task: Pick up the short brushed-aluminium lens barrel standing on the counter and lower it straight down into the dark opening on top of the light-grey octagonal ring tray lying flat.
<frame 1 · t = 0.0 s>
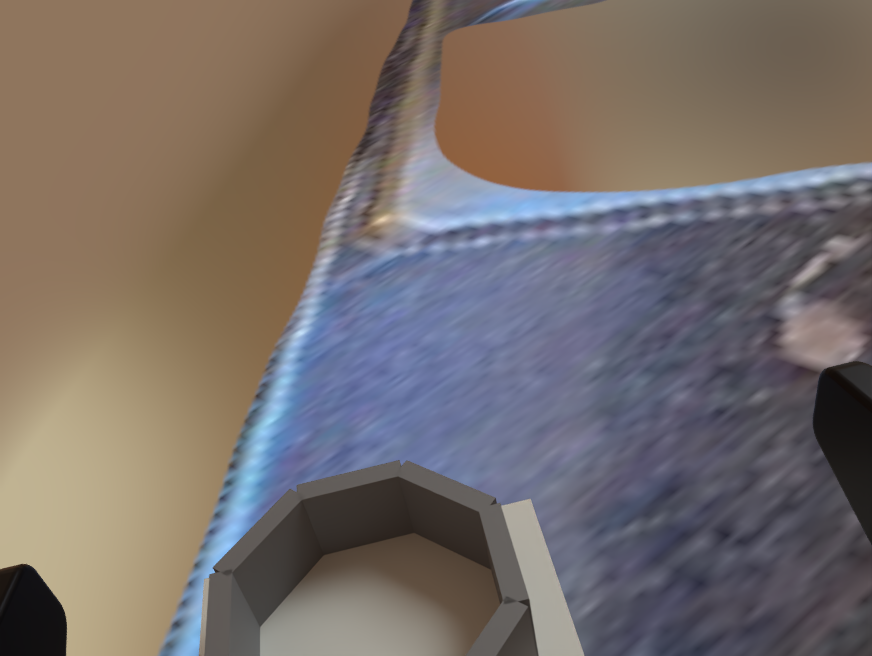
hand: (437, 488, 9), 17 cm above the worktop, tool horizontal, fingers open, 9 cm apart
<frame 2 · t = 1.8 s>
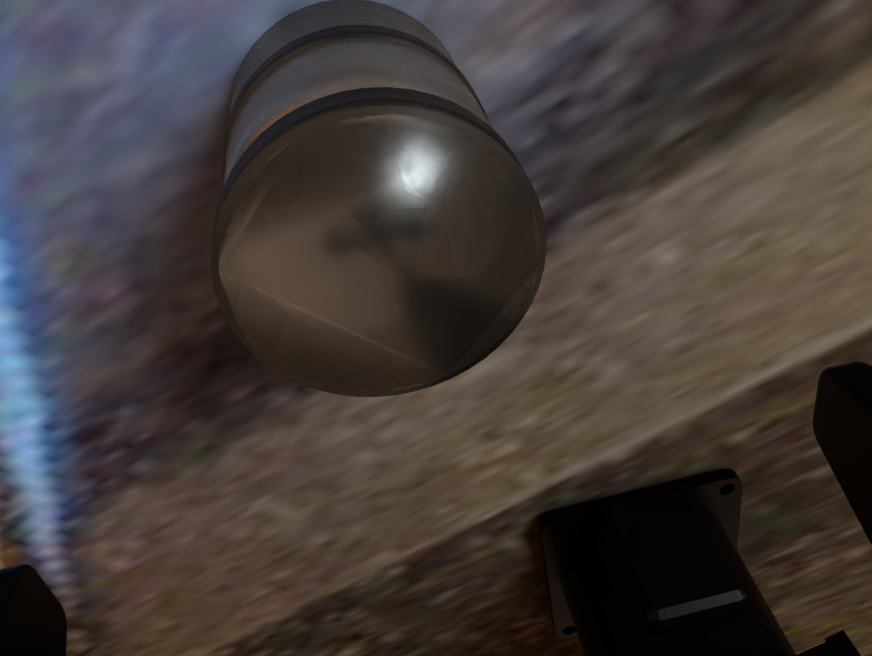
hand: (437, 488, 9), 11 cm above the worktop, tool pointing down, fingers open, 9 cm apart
lens: (350, 121, 18), on the worktop
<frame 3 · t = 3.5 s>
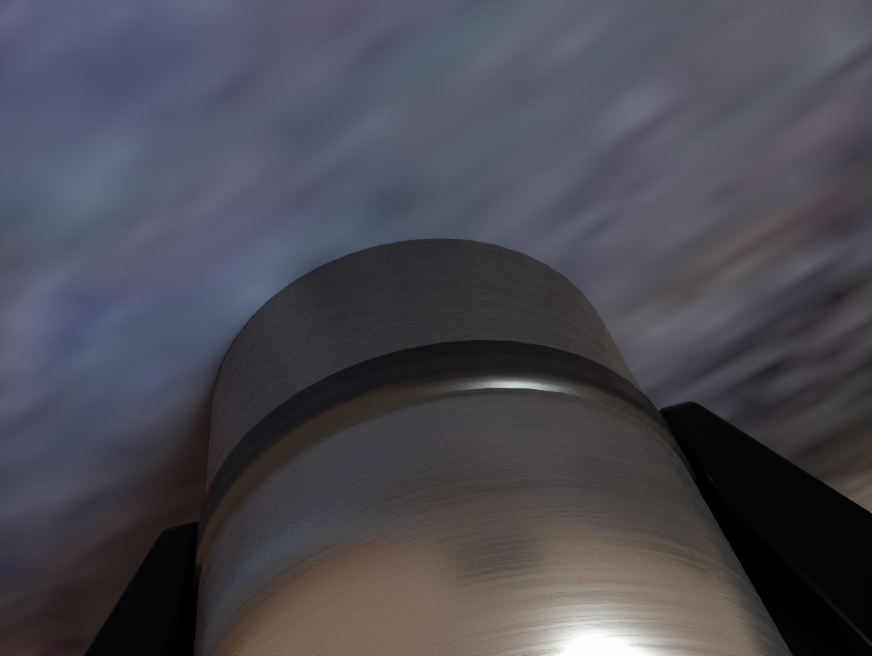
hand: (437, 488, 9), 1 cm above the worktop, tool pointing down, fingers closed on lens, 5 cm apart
lens: (420, 415, 10), on the worktop, touching gripper
when the fingers open (7 cm above the worktop, at t = 7.8 s): lens drops 2 cm, resting on octagonal ring tray.
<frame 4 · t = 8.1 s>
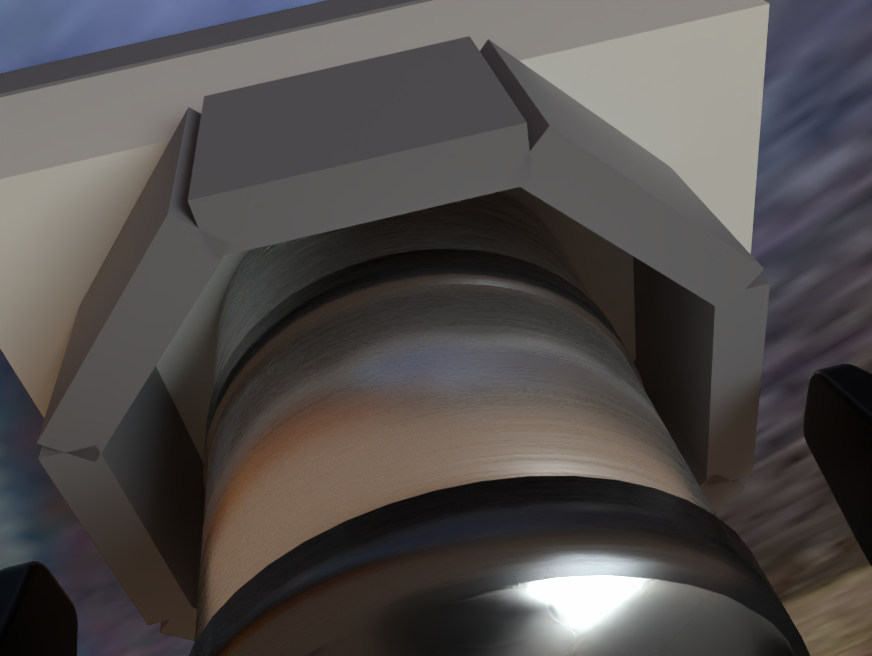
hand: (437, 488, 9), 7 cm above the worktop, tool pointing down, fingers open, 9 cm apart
octagonal ring tray: (373, 205, 15), on the worktop
lens: (404, 339, 12), point 4 cm above the worktop, touching octagonal ring tray
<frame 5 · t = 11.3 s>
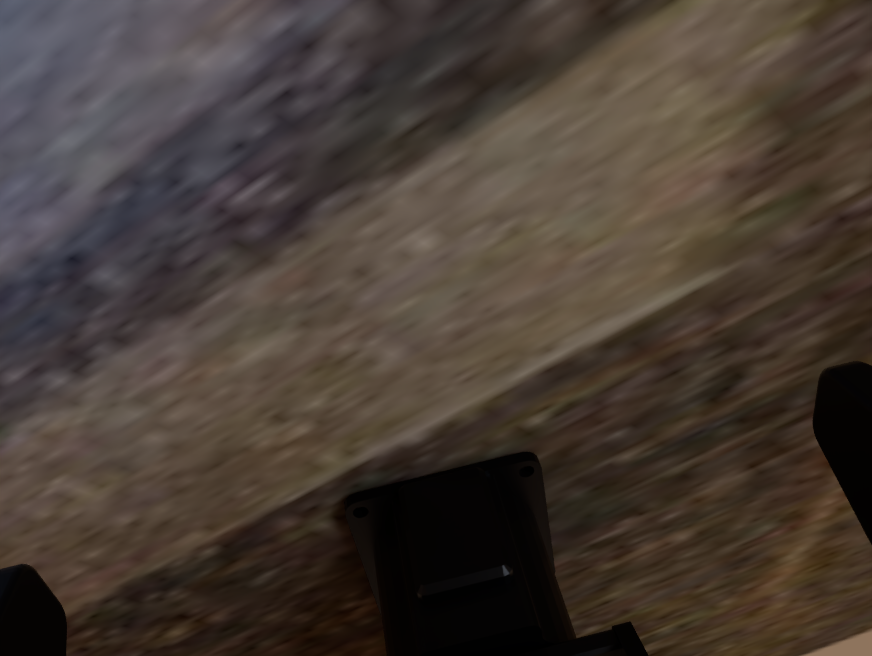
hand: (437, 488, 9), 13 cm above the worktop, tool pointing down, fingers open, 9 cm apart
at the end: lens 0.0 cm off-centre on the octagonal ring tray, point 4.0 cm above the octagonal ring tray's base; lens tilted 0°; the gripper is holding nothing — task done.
